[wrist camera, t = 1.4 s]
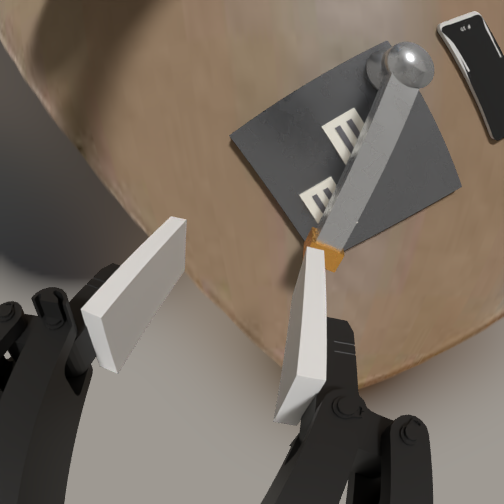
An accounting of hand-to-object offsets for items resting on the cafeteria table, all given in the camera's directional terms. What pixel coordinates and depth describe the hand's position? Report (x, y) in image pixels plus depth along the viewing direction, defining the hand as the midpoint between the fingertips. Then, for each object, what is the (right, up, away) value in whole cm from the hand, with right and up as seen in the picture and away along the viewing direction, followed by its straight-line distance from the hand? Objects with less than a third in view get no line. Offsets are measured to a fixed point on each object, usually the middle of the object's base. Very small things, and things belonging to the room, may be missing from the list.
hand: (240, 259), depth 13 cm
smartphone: (+28, +21, +7) cm, 36 cm away
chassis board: (+11, +11, +16) cm, 22 cm away
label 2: (+9, +5, +18) cm, 21 cm away
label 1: (+11, +12, +14) cm, 21 cm away
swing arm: (+11, +9, +10) cm, 17 cm away
